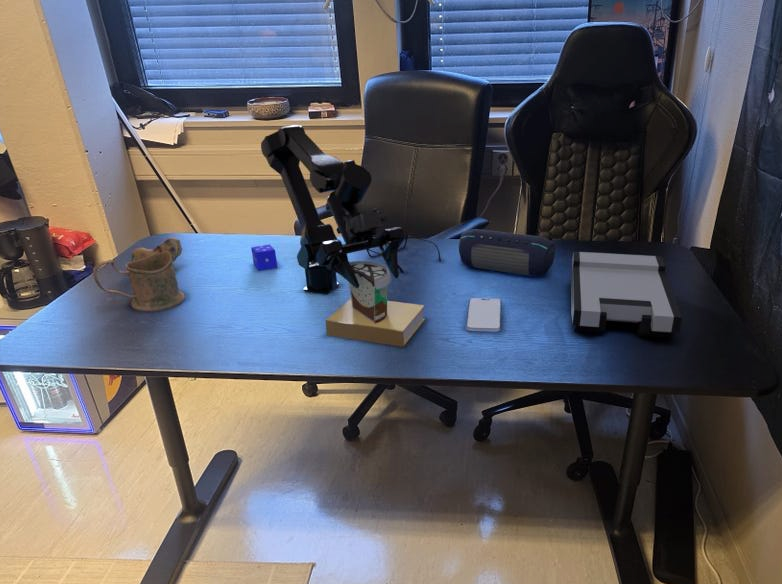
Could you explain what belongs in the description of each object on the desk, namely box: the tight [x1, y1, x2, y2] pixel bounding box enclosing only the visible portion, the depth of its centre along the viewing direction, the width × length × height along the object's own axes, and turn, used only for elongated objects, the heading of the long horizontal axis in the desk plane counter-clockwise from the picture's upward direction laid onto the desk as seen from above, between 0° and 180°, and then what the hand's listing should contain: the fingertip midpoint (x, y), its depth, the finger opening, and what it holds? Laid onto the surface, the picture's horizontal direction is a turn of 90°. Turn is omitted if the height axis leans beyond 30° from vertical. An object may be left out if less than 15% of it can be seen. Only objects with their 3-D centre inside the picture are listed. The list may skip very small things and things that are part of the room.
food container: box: [348, 260, 392, 323], centre depth 130 cm, size 12×6×10 cm, turn 37°
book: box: [325, 297, 426, 348], centre depth 133 cm, size 17×13×4 cm
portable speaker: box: [458, 228, 556, 277], centre depth 161 cm, size 25×10×10 cm, turn 68°
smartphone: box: [465, 297, 502, 333], centre depth 139 cm, size 7×1×15 cm
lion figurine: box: [130, 236, 183, 263], centre depth 160 cm, size 15×5×9 cm, turn 103°
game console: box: [570, 251, 683, 339], centre depth 139 cm, size 21×32×8 cm, turn 171°
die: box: [250, 244, 278, 272], centre depth 165 cm, size 5×5×5 cm
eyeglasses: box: [366, 234, 442, 274], centre depth 170 cm, size 16×16×4 cm
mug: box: [92, 251, 186, 312], centre depth 141 cm, size 12×18×12 cm, turn 137°
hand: (378, 282), depth 128 cm, fingers open, 9 cm apart
